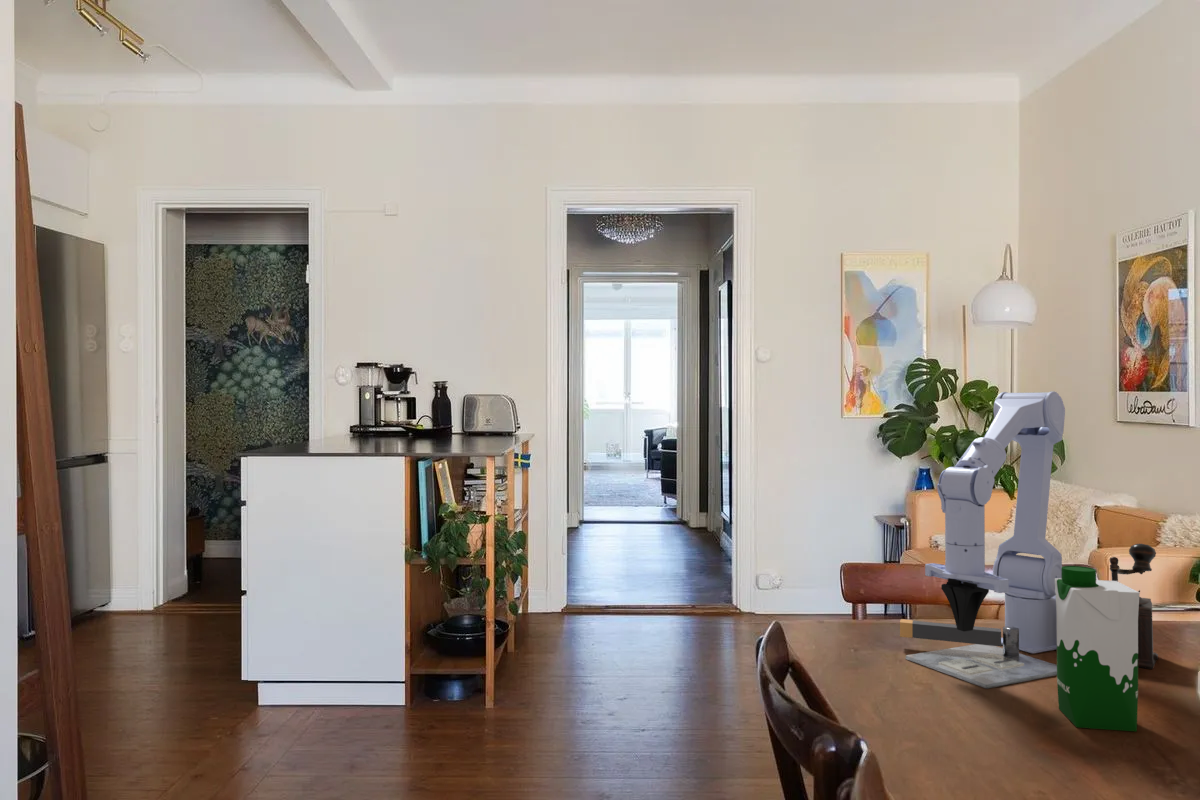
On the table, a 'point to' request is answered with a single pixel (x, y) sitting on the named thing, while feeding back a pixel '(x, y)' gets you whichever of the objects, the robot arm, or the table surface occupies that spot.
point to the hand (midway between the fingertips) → (965, 629)
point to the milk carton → (1097, 650)
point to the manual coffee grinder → (1141, 603)
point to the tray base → (987, 662)
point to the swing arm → (949, 633)
